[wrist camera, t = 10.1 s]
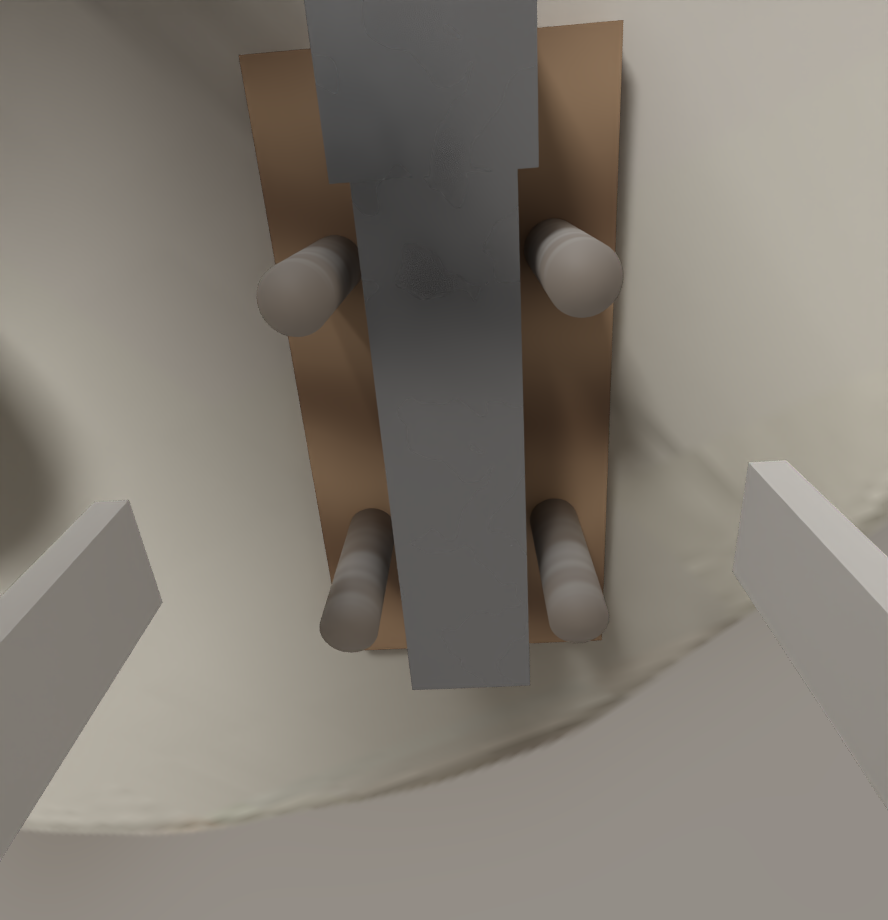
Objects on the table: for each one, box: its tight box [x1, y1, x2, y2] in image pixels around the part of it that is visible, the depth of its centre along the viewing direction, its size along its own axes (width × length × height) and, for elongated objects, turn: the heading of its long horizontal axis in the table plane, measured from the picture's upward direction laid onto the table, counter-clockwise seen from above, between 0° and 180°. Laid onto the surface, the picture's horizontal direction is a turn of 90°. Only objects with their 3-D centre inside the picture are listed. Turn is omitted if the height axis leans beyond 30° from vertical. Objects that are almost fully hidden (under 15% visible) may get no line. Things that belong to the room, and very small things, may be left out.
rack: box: [239, 20, 623, 652], centre depth 21 cm, size 22×11×8 cm, turn 4°
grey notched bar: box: [304, 0, 539, 690], centre depth 20 cm, size 20×5×5 cm, turn 4°
